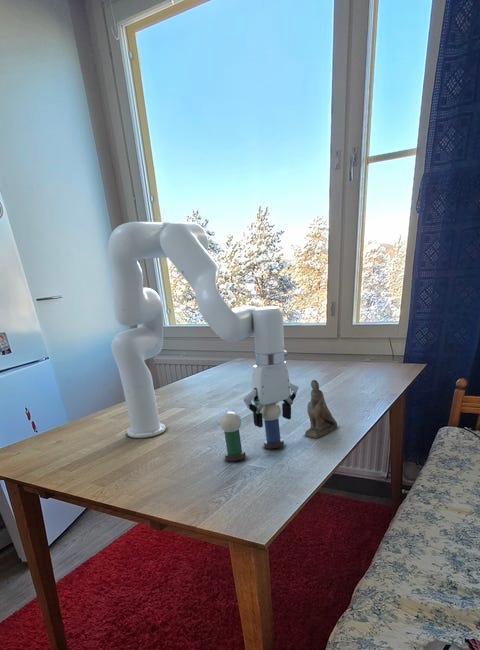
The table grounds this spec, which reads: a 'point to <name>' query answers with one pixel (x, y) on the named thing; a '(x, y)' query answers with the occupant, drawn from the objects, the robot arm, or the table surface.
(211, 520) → the table surface
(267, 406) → the blue doll
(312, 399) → the worn brown figurine
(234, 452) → the green doll
